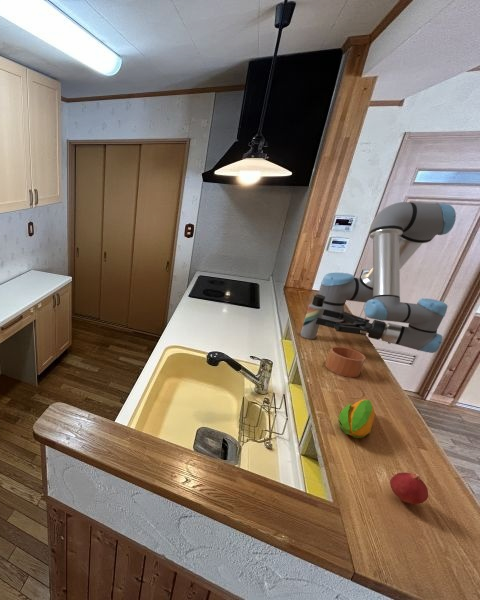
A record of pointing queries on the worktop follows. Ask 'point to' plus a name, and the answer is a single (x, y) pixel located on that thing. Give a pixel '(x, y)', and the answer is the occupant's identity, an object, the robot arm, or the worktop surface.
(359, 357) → the bowl
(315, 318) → the lotion bottle
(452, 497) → the worktop surface
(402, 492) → the onion
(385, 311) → the robot arm
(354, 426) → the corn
